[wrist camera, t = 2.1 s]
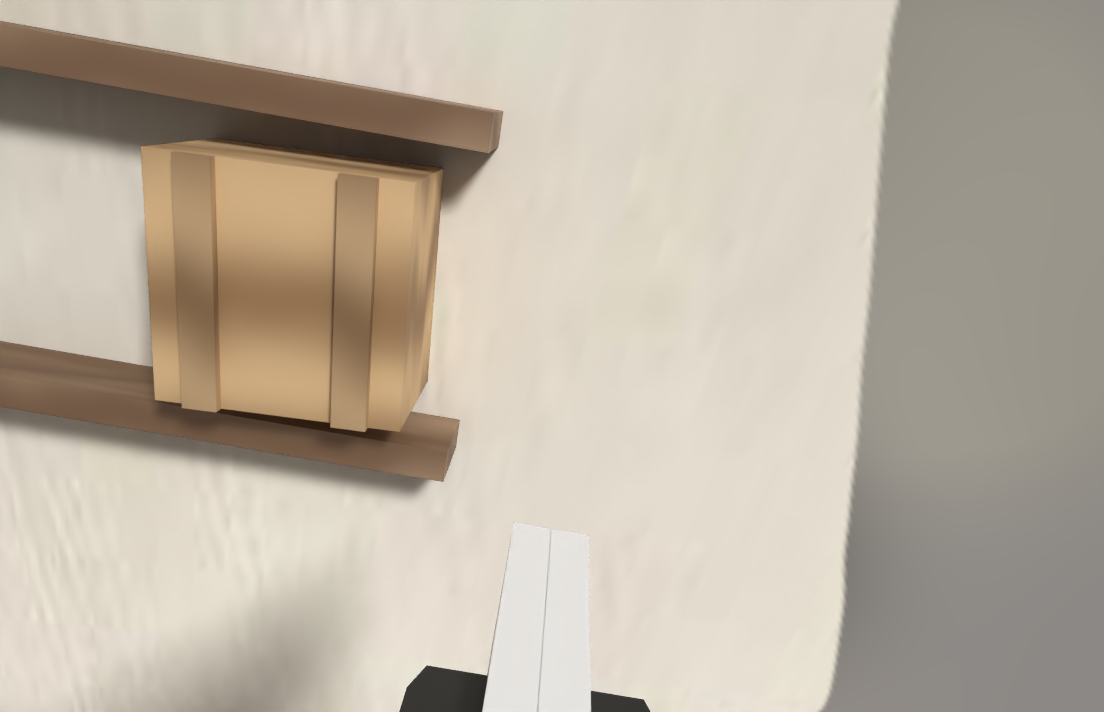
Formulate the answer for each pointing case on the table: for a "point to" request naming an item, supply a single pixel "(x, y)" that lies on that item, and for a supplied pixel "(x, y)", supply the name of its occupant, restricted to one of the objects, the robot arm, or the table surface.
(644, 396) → the table surface
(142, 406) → the bay
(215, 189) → the crate
